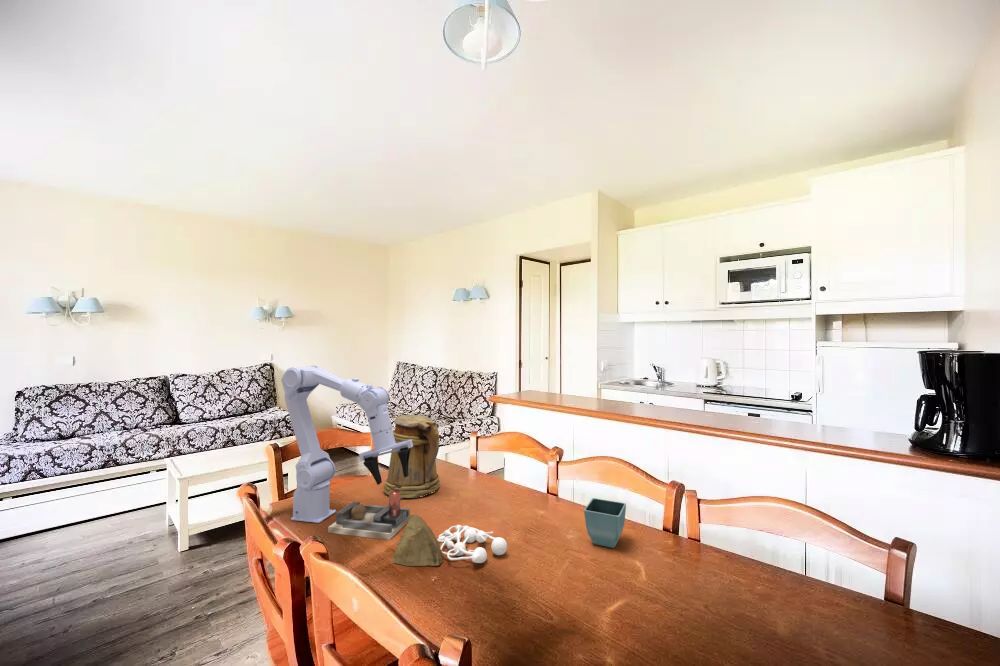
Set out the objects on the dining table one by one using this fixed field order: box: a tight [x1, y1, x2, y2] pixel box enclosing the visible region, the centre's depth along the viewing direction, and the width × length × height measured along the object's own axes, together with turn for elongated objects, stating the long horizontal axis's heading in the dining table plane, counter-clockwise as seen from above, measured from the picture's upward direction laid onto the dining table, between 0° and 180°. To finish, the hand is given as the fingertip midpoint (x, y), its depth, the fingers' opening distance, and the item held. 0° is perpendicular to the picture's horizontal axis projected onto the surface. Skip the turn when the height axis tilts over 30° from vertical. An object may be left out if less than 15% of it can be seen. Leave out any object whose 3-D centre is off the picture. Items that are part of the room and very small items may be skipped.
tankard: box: [383, 414, 441, 499], centre depth 138 cm, size 18×24×25 cm
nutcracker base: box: [327, 501, 411, 541], centre depth 112 cm, size 18×12×4 cm, turn 76°
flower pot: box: [583, 497, 627, 549], centre depth 102 cm, size 9×9×9 cm
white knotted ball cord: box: [436, 524, 508, 564], centre depth 99 cm, size 19×14×4 cm
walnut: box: [351, 503, 366, 520], centre depth 112 cm, size 4×4×4 cm
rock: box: [392, 513, 444, 567], centre depth 93 cm, size 11×9×10 cm
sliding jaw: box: [374, 490, 406, 528], centre depth 110 cm, size 6×8×8 cm
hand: (393, 479), depth 111 cm, fingers open, 7 cm apart
